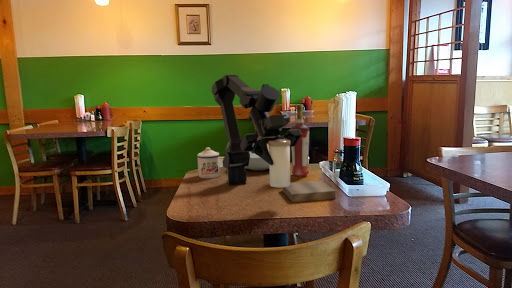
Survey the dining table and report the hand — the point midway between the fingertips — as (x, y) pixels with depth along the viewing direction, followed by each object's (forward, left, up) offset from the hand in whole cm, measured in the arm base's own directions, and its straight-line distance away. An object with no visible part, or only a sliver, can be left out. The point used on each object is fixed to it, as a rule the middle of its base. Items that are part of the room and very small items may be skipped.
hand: (282, 163), depth 106 cm
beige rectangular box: (+11, +11, -13) cm, 21 cm away
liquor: (+16, +36, -14) cm, 42 cm away
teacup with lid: (-18, +46, -14) cm, 51 cm away
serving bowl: (+3, +54, -14) cm, 56 cm away
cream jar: (0, +1, -7) cm, 7 cm away
